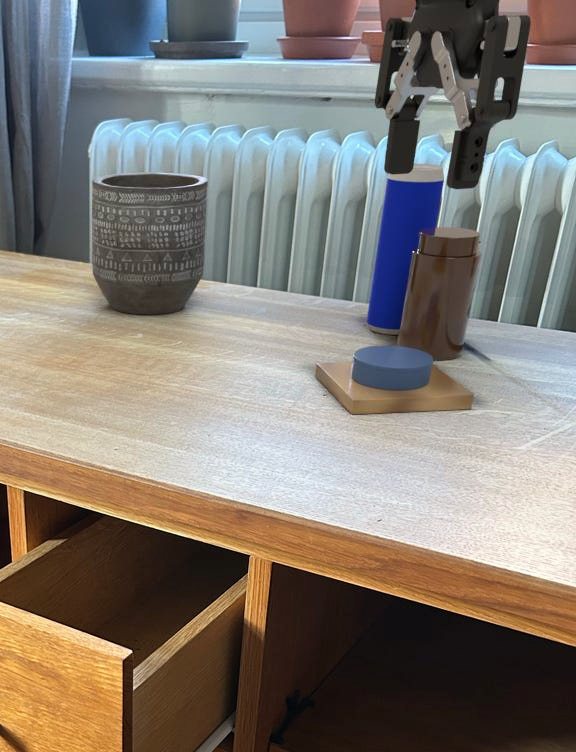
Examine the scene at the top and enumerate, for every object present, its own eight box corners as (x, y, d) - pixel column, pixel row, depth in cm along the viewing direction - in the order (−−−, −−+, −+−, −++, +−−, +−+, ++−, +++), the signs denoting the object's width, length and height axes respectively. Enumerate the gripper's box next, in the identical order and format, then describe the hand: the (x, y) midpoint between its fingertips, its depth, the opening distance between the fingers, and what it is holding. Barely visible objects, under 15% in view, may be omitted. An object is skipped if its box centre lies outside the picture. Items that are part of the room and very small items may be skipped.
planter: (70, 304, 107) (67, 179, 100) (148, 287, 114) (150, 168, 107) (145, 325, 99) (148, 191, 92) (224, 305, 106) (232, 179, 99)
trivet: (422, 371, 86) (425, 358, 85) (471, 409, 77) (474, 394, 77) (314, 376, 85) (316, 362, 84) (351, 414, 77) (353, 400, 76)
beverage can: (423, 326, 98) (452, 165, 90) (409, 338, 95) (438, 171, 86) (374, 320, 101) (398, 162, 92) (358, 331, 97) (382, 168, 89)
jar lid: (348, 387, 79) (351, 364, 78) (352, 364, 84) (355, 343, 83) (429, 393, 77) (434, 370, 76) (429, 369, 82) (433, 348, 81)
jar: (445, 341, 94) (468, 225, 88) (472, 359, 89) (497, 237, 83) (387, 343, 93) (405, 227, 88) (410, 361, 88) (431, 239, 83)
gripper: (364, -78, 68) (337, 172, 77) (487, -101, 57) (438, 196, 66) (456, -78, 70) (419, 167, 79) (593, -100, 58) (532, 190, 67)
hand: (428, 180), depth 72 cm, fingers open, 8 cm apart
